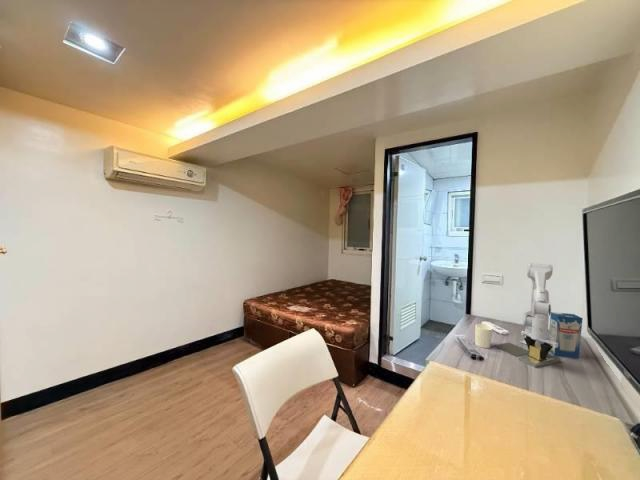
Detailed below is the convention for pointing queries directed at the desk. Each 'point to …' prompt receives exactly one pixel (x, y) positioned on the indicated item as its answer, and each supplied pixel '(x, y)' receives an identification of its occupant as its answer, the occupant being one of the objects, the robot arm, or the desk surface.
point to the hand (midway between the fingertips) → (537, 355)
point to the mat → (512, 349)
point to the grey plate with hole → (536, 363)
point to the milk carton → (565, 334)
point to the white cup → (483, 335)
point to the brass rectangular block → (535, 352)
